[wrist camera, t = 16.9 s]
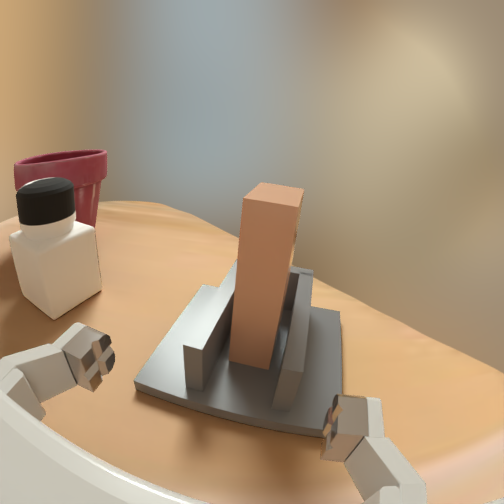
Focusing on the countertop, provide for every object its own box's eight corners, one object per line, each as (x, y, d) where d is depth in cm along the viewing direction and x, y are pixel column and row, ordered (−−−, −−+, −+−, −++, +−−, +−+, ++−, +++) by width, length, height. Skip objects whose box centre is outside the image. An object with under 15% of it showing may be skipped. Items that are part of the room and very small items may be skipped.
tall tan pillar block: (228, 360, 21) (243, 198, 16) (245, 322, 25) (261, 182, 20) (268, 369, 20) (298, 207, 15) (279, 329, 25) (304, 189, 20)
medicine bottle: (104, 289, 29) (93, 176, 24) (54, 322, 22) (28, 194, 17) (67, 270, 31) (55, 171, 26) (22, 296, 25) (0, 187, 20)
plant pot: (66, 219, 45) (61, 148, 40) (127, 230, 44) (126, 148, 38) (8, 251, 32) (-4, 165, 27) (68, 271, 31) (56, 164, 25)
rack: (135, 389, 18) (123, 337, 16) (202, 292, 31) (204, 248, 29) (336, 439, 16) (363, 394, 14) (337, 319, 28) (350, 276, 26)
